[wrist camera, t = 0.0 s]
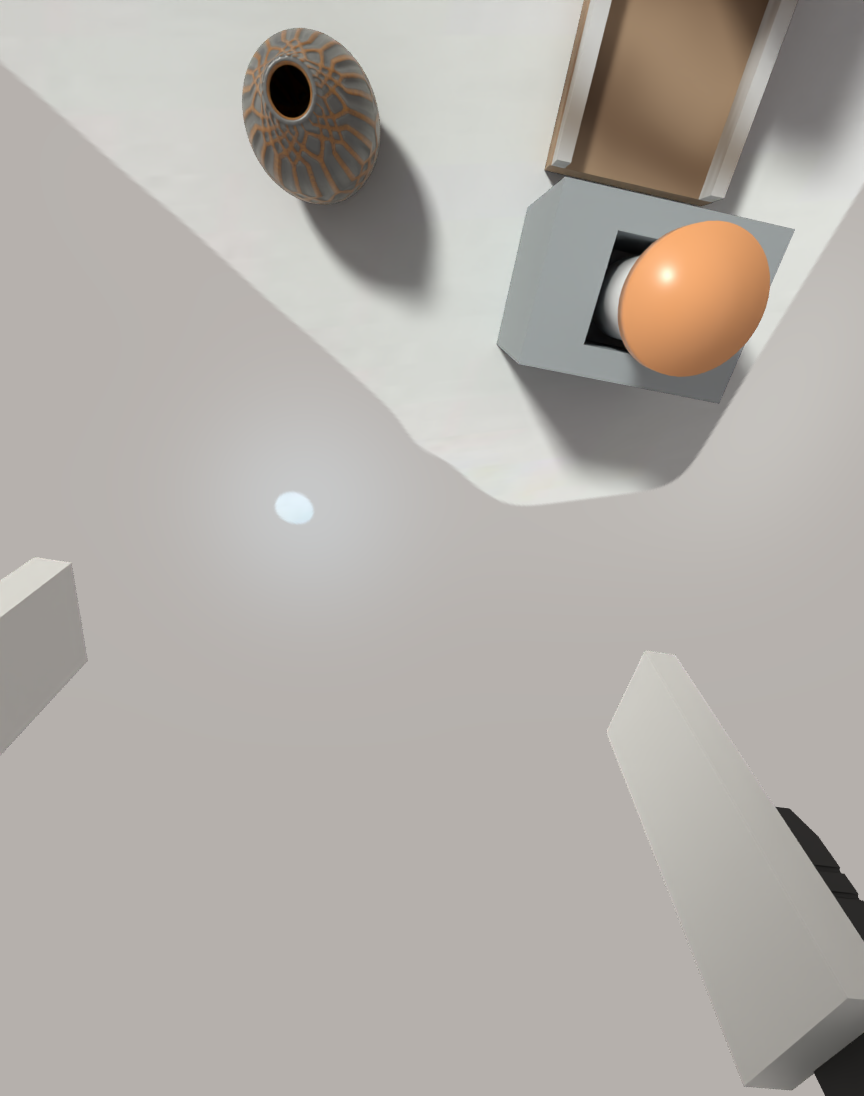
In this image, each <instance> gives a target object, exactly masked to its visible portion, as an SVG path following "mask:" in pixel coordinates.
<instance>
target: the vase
mask: <svg viewBox="0 0 864 1096" xmlns="http://www.w3.org/2000/svg"><path fill="white" fill-rule="evenodd" d="M242 109H243V117H244V123H245V128H246V132H247V135H248V138H249V141H250V144H251V147H252V149H253V151H254V153H255V155H256V157H257V159H258V161H259V162H260V164H261V166H262V167H263V169H264V170H265V171H266V173H267V174H268V175H269V176H270V177H271V179H272V180H273V181H274V182H275V183H276V184H277V185H279V186H280V187H281V188H282V189H283V190H285V191H286V192H288V193H289V194H291V195H293V196H294V197H296V198H298V199H301V200H303V201H306V202H309V203H314V204H334V203H338V202H341V201H343V200H345V199H347V198H349V197H351V196H352V195H353V194H355V193H356V192H357V191H358V190H359V189H360V188H361V187H362V186H363V185H364V184H365V182H366V181H367V179H368V178H369V176H370V174H371V172H372V170H373V168H374V165H375V163H376V160H377V156H378V151H379V145H380V119H379V112H378V107H377V103H376V99H375V95H374V92H373V90H372V87H371V85H370V82H369V80H368V78H367V76H366V74H365V72H364V71H363V69H362V67H361V66H360V64H359V63H358V62H357V60H356V59H355V58H354V57H353V56H352V54H351V53H350V52H349V51H348V50H347V49H346V48H345V47H344V46H342V45H341V44H340V43H339V42H337V41H336V40H334V39H333V38H331V37H329V36H328V35H326V34H324V33H321V32H318V31H315V30H311V29H306V28H293V29H287V30H283V31H281V32H278V33H276V34H274V35H273V36H271V37H270V38H268V39H267V40H266V41H265V42H264V43H263V44H262V45H261V46H260V47H259V48H258V50H257V51H256V52H255V54H254V56H253V57H252V59H251V61H250V63H249V66H248V69H247V72H246V75H245V79H244V85H243V94H242Z"/></svg>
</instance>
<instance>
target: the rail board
mask: <svg viewBox="0 0 864 1096" xmlns="http://www.w3.org/2000/svg"><path fill="white" fill-rule="evenodd" d="M797 2H798V0H584V3H583V7H582V11H581V16H580V20H579V24H578V28H577V33H576V37H575V41H574V46H573V50H572V54H571V59H570V63H569V67H568V71H567V76H566V80H565V84H564V89H563V93H562V97H561V102H560V106H559V110H558V114H557V119H556V123H555V127H554V132H553V136H552V140H551V145H550V149H549V153H548V157H547V162H546V166H545V170H546V171H550V172H554V173H559V174H563V175H567V176H572V177H576V178H580V179H585V180H589V181H593V182H598V183H602V184H606V185H611V186H615V187H619V188H624V189H628V190H632V191H637V192H641V193H645V194H650V195H654V196H658V197H663V198H667V199H671V200H676V201H680V202H684V203H689V204H693V205H698V206H704V205H707V204H710V203H713V202H714V201H717V200H721V199H724V198H725V195H726V192H727V190H728V187H729V184H730V182H731V179H732V176H733V174H734V171H735V168H736V166H737V163H738V160H739V158H740V155H741V152H742V150H743V147H744V144H745V141H746V139H747V136H748V133H749V131H750V128H751V125H752V123H753V120H754V117H755V115H756V112H757V109H758V107H759V104H760V101H761V99H762V96H763V93H764V91H765V88H766V85H767V83H768V80H769V77H770V74H771V72H772V69H773V66H774V64H775V61H776V58H777V56H778V53H779V50H780V48H781V45H782V42H783V40H784V37H785V34H786V32H787V29H788V26H789V24H790V21H791V18H792V16H793V13H794V10H795V8H796V5H797Z"/></svg>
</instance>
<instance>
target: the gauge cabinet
mask: <svg viewBox="0 0 864 1096" xmlns="http://www.w3.org/2000/svg"><path fill="white" fill-rule="evenodd" d="M704 221H725V222H730V223H733V224H736V225H738V226H740V227H742V228H744V229H745V230H747V231H748V232H749V233H751V234H752V235H753V236H754V237H755V239H756V240H757V241H758V242H759V244H760V245H761V247H762V248H763V250H764V253H765V255H766V258H767V261H768V265H769V272H770V286H771V283H772V281H773V279H774V276H775V274H776V272H777V270H778V267H779V265H780V263H781V260H782V258H783V256H784V254H785V251H786V249H787V247H788V244H789V242H790V240H791V238H792V235H793V233H794V231H795V229H791V228H787V227H782V226H778V225H774V224H769V223H765V222H761V221H756V220H752V219H748V218H743V217H739V216H735V215H730V214H726V213H722V212H717V211H713V210H709V209H704V208H700V207H696V206H691V205H687V204H683V203H678V202H674V201H670V200H665V199H661V198H657V197H652V196H648V195H644V194H639V193H635V192H631V191H626V190H622V189H617V188H613V187H609V186H604V185H600V184H596V183H591V182H587V181H583V180H578V179H574V178H570V177H564V178H563V179H562V180H560V181H559V182H558V183H557V184H556V185H554V186H553V187H552V188H551V189H549V190H548V191H547V192H546V193H545V194H543V195H542V196H541V197H540V198H539V199H537V200H536V201H535V202H534V203H533V204H531V205H530V206H529V207H528V208H527V212H526V217H525V221H524V226H523V230H522V235H521V239H520V243H519V248H518V252H517V257H516V261H515V265H514V270H513V274H512V279H511V283H510V288H509V292H508V296H507V301H506V305H505V310H504V314H503V319H502V323H501V327H500V332H499V336H498V341H497V345H498V346H499V347H500V348H501V349H502V350H504V351H505V352H506V353H507V354H508V355H509V356H510V357H511V358H512V359H513V360H515V361H516V362H517V363H518V364H521V365H526V366H531V367H536V368H541V369H546V370H551V371H556V372H561V373H566V374H571V375H576V376H582V377H587V378H592V379H597V380H602V381H607V382H612V383H617V384H622V385H627V386H632V387H637V388H642V389H647V390H653V391H658V392H663V393H668V394H673V395H678V396H683V397H688V398H693V399H698V400H703V401H708V402H713V403H718V404H719V402H720V400H721V398H722V396H723V393H724V391H725V389H726V386H727V384H728V382H729V380H730V377H731V375H732V373H733V370H734V368H735V366H736V363H737V361H738V359H739V357H740V354H741V352H742V350H743V347H744V346H743V347H742V348H741V349H740V350H739V351H738V352H737V353H736V354H735V355H734V356H732V357H731V358H730V359H729V360H727V361H726V362H724V363H723V364H721V365H720V366H718V367H716V368H714V369H712V370H710V371H707V372H705V373H701V374H698V375H693V376H687V377H676V376H669V375H665V374H662V373H659V372H656V371H654V370H651V369H649V368H647V367H645V366H643V365H642V364H640V363H639V362H638V361H636V360H635V359H634V358H633V357H632V356H631V354H630V353H629V352H628V350H627V349H626V347H625V345H624V343H623V341H622V340H619V339H616V338H612V337H610V336H607V335H606V334H604V333H603V332H602V331H601V330H600V329H599V328H598V327H597V326H596V324H595V322H594V320H593V317H592V315H593V312H594V309H595V305H596V302H597V299H598V295H599V292H600V289H601V285H602V282H603V279H604V275H605V272H606V269H607V268H608V267H609V266H610V265H612V264H613V263H615V262H616V261H618V260H620V259H623V258H626V257H632V256H638V255H641V254H642V253H643V252H644V251H645V250H646V249H647V248H648V247H649V246H650V245H651V244H652V243H654V242H655V241H656V240H657V239H659V238H660V237H662V236H663V235H665V234H667V233H668V232H670V231H673V230H675V229H677V228H680V227H683V226H686V225H690V224H694V223H699V222H704Z"/></svg>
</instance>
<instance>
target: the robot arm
mask: <svg viewBox="0 0 864 1096" xmlns="http://www.w3.org/2000/svg"><path fill="white" fill-rule="evenodd" d="M87 661H88V660H87V654H86V647H85V641H84V635H83V629H82V624H81V617H80V611H79V605H78V599H77V593H76V587H75V581H74V575H73V568H72V563H70V562H63V561H57V560H49V559H43V558H37V557H34V558H33V559H31V560H30V561H28V562H27V563H25V564H24V565H22V566H21V567H20V568H18V569H16V570H15V571H14V572H12V573H11V574H9V575H8V576H6V577H5V578H3V579H2V580H0V755H1V754H2V753H3V752H4V751H5V750H6V749H7V748H8V747H9V746H10V745H11V744H12V742H13V741H14V740H15V739H16V738H17V737H18V736H19V735H20V734H21V733H22V732H23V730H24V729H25V728H26V727H27V726H28V725H29V724H30V723H31V722H32V721H33V720H34V719H35V717H36V716H37V715H38V714H39V713H40V712H41V711H42V710H43V709H44V708H45V707H46V706H47V704H48V703H49V702H50V701H51V700H52V699H53V698H54V697H55V696H56V695H57V693H58V692H59V691H60V690H61V689H62V688H63V687H64V686H65V685H66V684H67V683H68V682H69V681H70V679H71V678H72V677H73V676H74V675H75V674H76V673H77V672H78V671H79V669H81V667H82V666H83V665H84V664H85V663H86V662H87ZM606 733H607V736H608V739H609V741H610V743H611V746H612V749H613V751H614V753H615V756H616V759H617V762H618V764H619V767H620V769H621V772H622V775H623V777H624V780H625V782H626V785H627V787H628V790H629V793H630V795H631V798H632V800H633V803H634V805H635V808H636V811H637V813H638V816H639V818H640V821H641V823H642V826H643V829H644V831H645V834H646V836H647V839H648V841H649V844H650V847H651V849H652V852H653V854H654V857H655V859H656V862H657V865H658V867H659V869H660V872H661V875H662V878H663V880H664V882H665V885H666V888H667V890H668V893H669V896H670V898H671V901H672V903H673V906H674V908H675V911H676V914H677V916H678V918H679V921H680V924H681V926H682V929H683V932H684V934H685V937H686V939H687V942H688V944H689V947H690V950H691V952H692V955H693V957H694V960H695V962H696V965H697V968H698V970H699V973H700V975H701V978H702V980H703V983H704V986H705V988H706V991H707V993H708V996H709V998H710V1001H711V1004H712V1006H713V1009H714V1011H715V1014H716V1017H717V1019H718V1022H719V1024H720V1027H721V1029H722V1032H723V1035H724V1037H725V1040H726V1042H727V1045H728V1047H729V1050H730V1053H731V1055H732V1057H733V1060H734V1062H735V1065H736V1068H737V1071H738V1073H739V1076H740V1078H741V1081H742V1083H743V1086H744V1087H757V1088H769V1089H781V1090H793V1089H794V1088H796V1087H797V1086H798V1085H799V1084H801V1083H802V1082H803V1081H805V1080H806V1079H807V1078H808V1077H810V1076H811V1075H813V1074H815V1076H816V1078H817V1080H818V1082H819V1084H820V1086H821V1088H822V1090H823V1092H824V1094H825V1096H864V901H861V900H859V898H858V893H857V892H856V890H855V888H854V887H853V885H852V884H851V883H850V881H849V880H848V878H847V877H846V876H845V874H842V873H841V872H840V870H839V869H840V867H839V866H838V864H837V863H836V861H835V860H834V858H833V857H832V856H831V854H830V853H829V851H828V850H827V848H826V847H825V846H824V844H823V843H822V841H821V840H820V839H819V837H818V836H817V835H816V834H815V833H814V832H813V831H812V830H811V829H810V828H809V827H808V826H807V825H806V824H805V823H804V822H803V821H802V820H801V819H800V818H799V817H798V816H797V815H796V814H794V813H793V812H792V811H791V810H790V809H788V808H780V807H775V806H774V804H773V803H772V801H771V800H770V798H769V797H768V795H767V794H766V792H765V791H764V789H763V788H762V786H761V785H760V783H759V782H758V780H757V778H756V777H755V775H754V774H753V773H752V771H751V769H750V768H749V766H748V765H747V763H746V762H745V760H744V759H743V757H742V756H741V754H740V753H739V751H738V750H737V748H736V747H735V745H734V743H733V742H732V741H731V739H730V737H729V736H728V735H727V733H726V731H725V730H724V728H723V727H722V725H721V724H720V722H719V721H718V719H717V718H716V716H715V715H714V713H713V712H712V710H711V708H710V707H709V705H708V704H707V702H706V701H705V700H704V698H703V696H702V695H701V693H700V692H699V690H698V689H697V687H696V686H695V684H694V683H693V681H692V680H691V678H690V677H689V675H688V674H687V672H686V670H685V669H684V668H683V666H682V664H681V663H680V661H679V660H678V658H677V657H676V656H675V655H673V654H667V653H660V652H653V651H646V650H645V651H644V653H643V655H642V657H641V659H640V662H639V664H638V666H637V668H636V670H635V672H634V674H633V676H632V678H631V681H630V683H629V685H628V687H627V689H626V691H625V693H624V695H623V698H622V700H621V702H620V704H619V706H618V708H617V710H616V712H615V714H614V716H613V719H612V720H611V723H610V725H609V727H608V729H607V731H606Z"/></svg>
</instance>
